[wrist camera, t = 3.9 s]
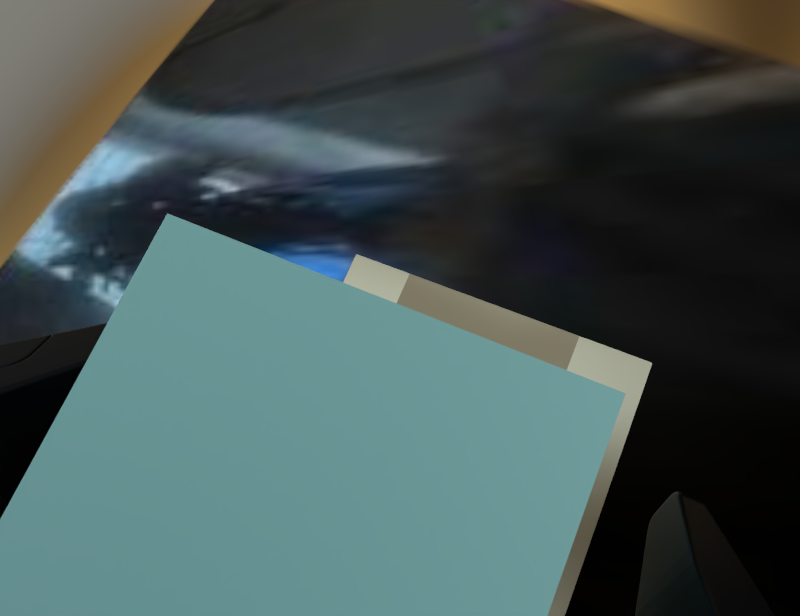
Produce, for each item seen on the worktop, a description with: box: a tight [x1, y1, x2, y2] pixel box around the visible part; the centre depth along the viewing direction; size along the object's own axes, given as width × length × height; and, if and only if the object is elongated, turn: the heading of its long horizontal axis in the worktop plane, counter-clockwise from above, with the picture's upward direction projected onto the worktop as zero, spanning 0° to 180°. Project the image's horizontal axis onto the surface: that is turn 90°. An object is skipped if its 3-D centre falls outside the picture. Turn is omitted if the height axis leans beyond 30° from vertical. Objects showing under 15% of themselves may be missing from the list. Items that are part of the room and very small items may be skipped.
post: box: [0, 214, 626, 616], centre depth 9 cm, size 4×4×13 cm
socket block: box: [343, 254, 652, 616], centre depth 14 cm, size 9×9×4 cm
